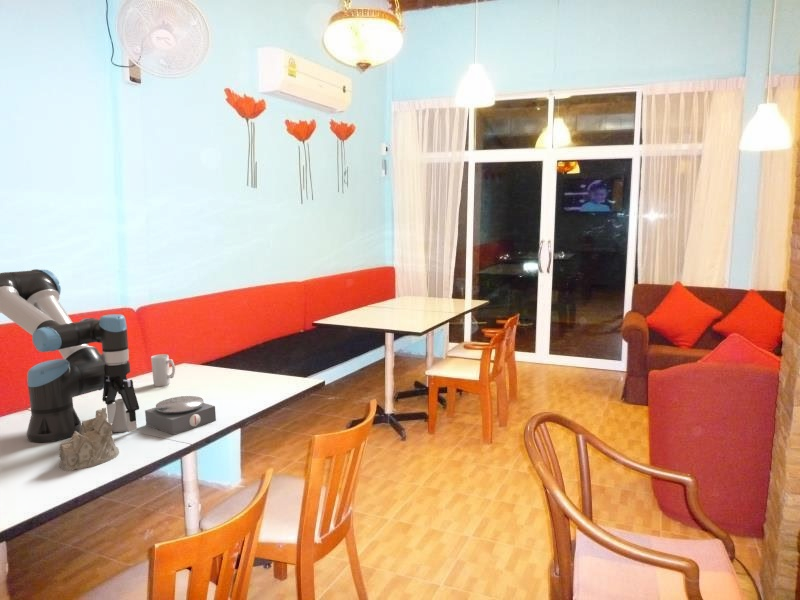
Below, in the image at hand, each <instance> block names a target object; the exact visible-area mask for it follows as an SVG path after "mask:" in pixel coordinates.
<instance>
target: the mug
mask: <svg viewBox="0 0 800 600" xmlns="http://www.w3.org/2000/svg"><path fill="white" fill-rule="evenodd" d="M150 360H151V370H152V379H153V386H154V387H163V386H168V385H170V384H171V379H173V378H174V377H175V374H176V373H175V372H176V366H175V363H174V360H173V359H172V358H171V359H170V357H169V354H163V353H162V354H160V353H159V354H155V355H152V356H151V357H150ZM170 365H171V368H172V371H171V373H170Z"/></svg>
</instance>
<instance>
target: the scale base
mask: <svg viewBox="0 0 800 600" xmlns="http://www.w3.org/2000/svg"><path fill="white" fill-rule="evenodd" d="M144 413H145V426H149V427H151V428H154V429H157V430H159V431H161V432H164V433H167V434H170V435H172V436H174V435H177V434H180V433H184V432H185V431H189V430H192V429H195V428H198V427H200V426H203V425H206V424H209V423H212V422H215V421H217V417H216V406H215V405H212V404H209V403H205V402H204V404H203V405H202V406H201V407H199V408H197V409H194V410H191V411H187V412H181V413H161V412H158V411H157V410H156V406H155V407H152V408H149V409H145V410H144Z"/></svg>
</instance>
